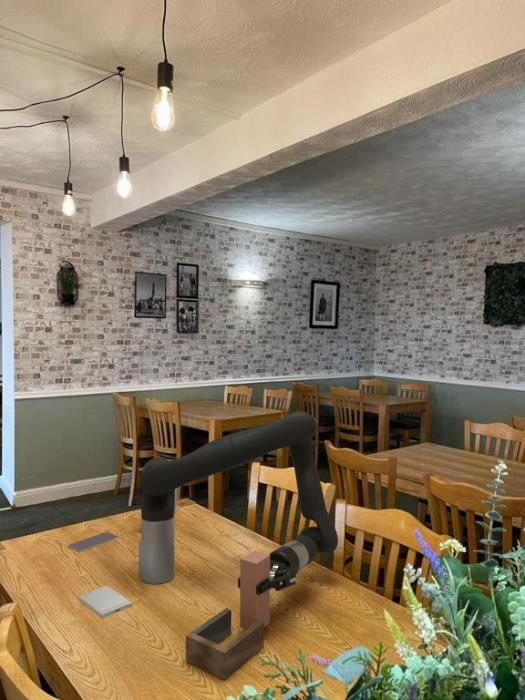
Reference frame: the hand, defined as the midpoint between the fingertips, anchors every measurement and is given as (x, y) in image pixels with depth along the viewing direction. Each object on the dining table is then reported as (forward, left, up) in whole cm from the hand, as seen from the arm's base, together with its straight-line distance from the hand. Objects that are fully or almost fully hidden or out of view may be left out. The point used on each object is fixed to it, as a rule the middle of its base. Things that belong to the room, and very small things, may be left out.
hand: (248, 587), depth 118 cm
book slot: (0, -7, -11) cm, 14 cm away
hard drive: (-38, -9, -12) cm, 41 cm away
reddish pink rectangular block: (0, +3, -10) cm, 10 cm away
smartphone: (-73, +14, -12) cm, 75 cm away
